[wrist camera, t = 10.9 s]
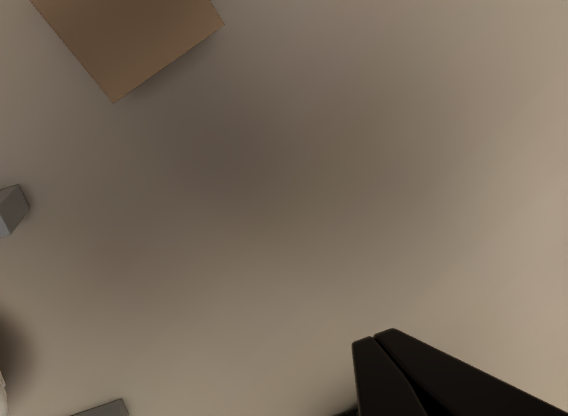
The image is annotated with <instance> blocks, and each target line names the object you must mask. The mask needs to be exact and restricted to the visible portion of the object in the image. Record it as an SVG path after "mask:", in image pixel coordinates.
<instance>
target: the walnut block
mask: <svg viewBox="0 0 568 416" xmlns="http://www.w3.org/2000/svg"><path fill="white" fill-rule="evenodd" d="M30 2H31V3H32V4H33V5H34V7H35V8H36V9H37V10H38V11H39V13H40V14H41V15H42V16H43V18H44V19H45V20H46V21H47V23H48V24H49V25H50V26H51V27H52V29H53V30H54V31H55V32H56V34H57V35H58V36H59V37H60V38H61V40H62V41H63V42H64V43H65V45H66V46H67V47H68V48H69V50H70V51H71V52H72V53H73V54H74V56H75V57H76V58H77V59H78V61H79V62H80V63H81V64H82V66H83V67H84V68H85V69H86V70H87V72H88V73H89V74H90V75H91V77H92V78H93V79H94V80H95V82H96V83H97V84H98V85H99V86H100V88H101V89H102V90H103V91H104V93H105V94H106V95H107V96H108V98H109V99H110V100H111V101H112V102H113V103H115V102H116V101H117V100H119V99H120V98H122V97H123V96H124V95H126V94H127V93H129V92H130V91H132V90H133V89H134V88H136V87H137V86H139V85H140V84H141V83H143V82H144V81H146V80H147V79H149V78H150V77H151V76H153V75H154V74H156V73H157V72H158V71H160V70H161V69H163V68H164V67H166V66H167V65H168V64H170V63H171V62H173V61H174V60H175V59H177V58H178V57H180V56H181V55H182V54H184V53H185V52H187V51H188V50H190V49H191V48H192V47H194V46H195V45H197V44H198V43H199V42H201V41H202V40H204V39H205V38H207V37H208V36H209V35H211V34H212V33H214V32H215V31H216V30H218V29H219V28H221V27H222V26H224V25H225V24H224V22H223V21H222V19H221V17H220V16H219V14H218V13H217V11H216V10H215V8H214V6H213V5H212V3H211V2H210V0H30Z"/></svg>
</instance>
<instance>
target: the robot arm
mask: <svg viewBox="0 0 568 416" xmlns="http://www.w3.org/2000/svg"><path fill="white" fill-rule="evenodd" d="M352 355H353V364H354V374H355V383H356V392H357V401H358V410H355V411H352V412H350V413H347V414H344V415H342V416H568V413H567V412H565V411H563V410H561V409H559V408H557V407H555V406H553V405H551V404H549V403H547V402H545V401H543V400H541V399H539V398H537V397H535V396H532V395H530V394H528V393H526V392H524V391H522V390H520V389H518V388H516V387H514V386H512V385H510V384H508V383H506V382H504V381H502V380H500V379H498V378H496V377H494V376H491V375H489V374H487V373H485V372H483V371H481V370H479V369H477V368H475V367H473V366H471V365H469V364H467V363H465V362H463V361H461V360H459V359H457V358H455V357H453V356H450V355H448V354H446V353H444V352H442V351H440V350H438V349H436V348H434V347H432V346H430V345H428V344H426V343H424V342H422V341H420V340H418V339H416V338H414V337H412V336H409V335H407V334H405V333H403V332H401V331H399V330H397V329H394V328H391V329H388V330H385V331H382V332H379V333H376V334H375V335H374V336H373V337H370V336H368V337H365V338H363V339H360V340H357V341H354V342H353V343H352Z"/></svg>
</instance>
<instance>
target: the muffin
mask: <svg viewBox="0 0 568 416" xmlns="http://www.w3.org/2000/svg"><path fill="white" fill-rule="evenodd" d="M5 385H6V384H5V381H4V379H3V376H2V374H1V371H0V416H8V403H7V394H6V391H5V389H4V387H5Z"/></svg>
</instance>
